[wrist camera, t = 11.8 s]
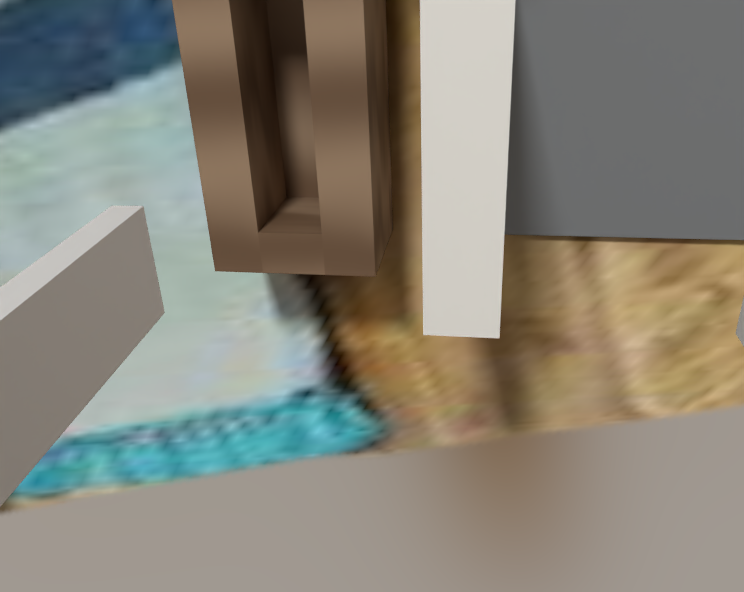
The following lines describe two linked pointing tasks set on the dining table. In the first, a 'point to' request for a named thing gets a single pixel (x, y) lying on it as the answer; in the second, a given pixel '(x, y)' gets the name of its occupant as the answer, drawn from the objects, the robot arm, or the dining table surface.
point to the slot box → (291, 131)
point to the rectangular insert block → (464, 161)
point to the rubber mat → (627, 119)
